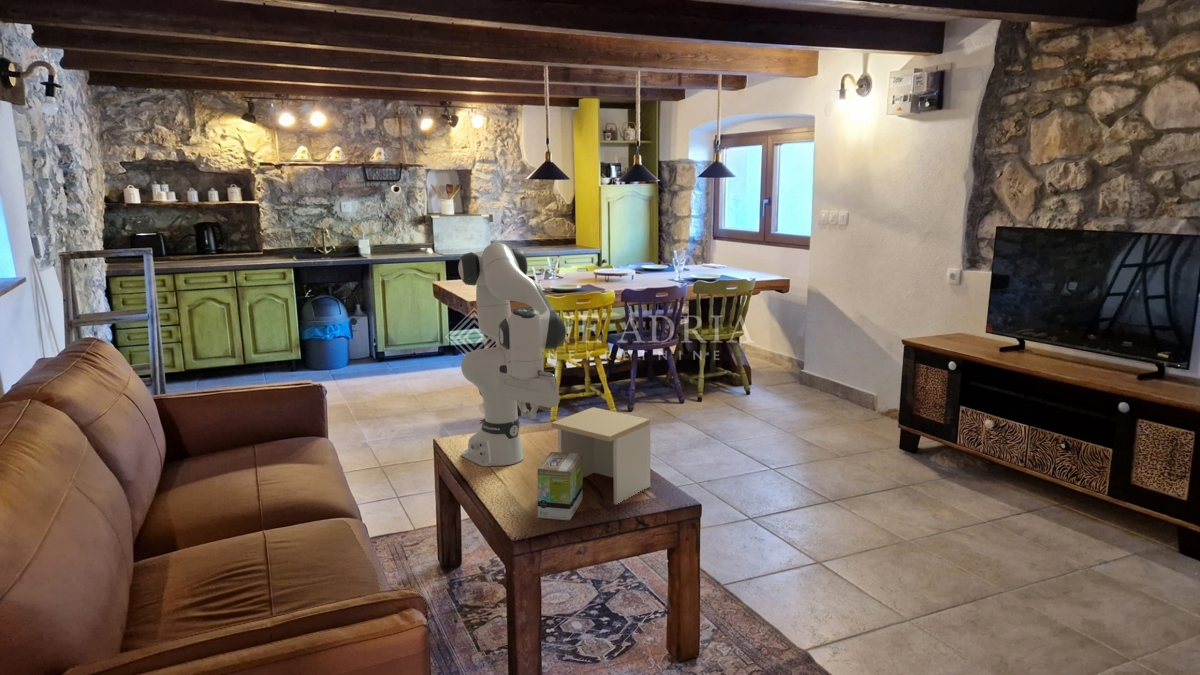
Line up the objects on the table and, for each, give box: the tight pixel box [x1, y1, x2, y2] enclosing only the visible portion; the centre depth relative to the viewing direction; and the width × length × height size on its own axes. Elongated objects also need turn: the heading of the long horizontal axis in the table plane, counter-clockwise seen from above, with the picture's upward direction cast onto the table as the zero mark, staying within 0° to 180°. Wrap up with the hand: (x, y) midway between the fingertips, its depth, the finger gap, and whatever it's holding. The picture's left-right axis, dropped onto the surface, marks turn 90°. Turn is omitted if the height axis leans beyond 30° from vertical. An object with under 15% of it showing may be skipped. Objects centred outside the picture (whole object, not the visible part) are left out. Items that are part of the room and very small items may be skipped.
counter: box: [551, 406, 651, 505], centre depth 231 cm, size 22×20×22 cm
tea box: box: [537, 451, 584, 521], centre depth 217 cm, size 15×10×15 cm, turn 168°
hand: (528, 417), depth 208 cm, fingers closed
